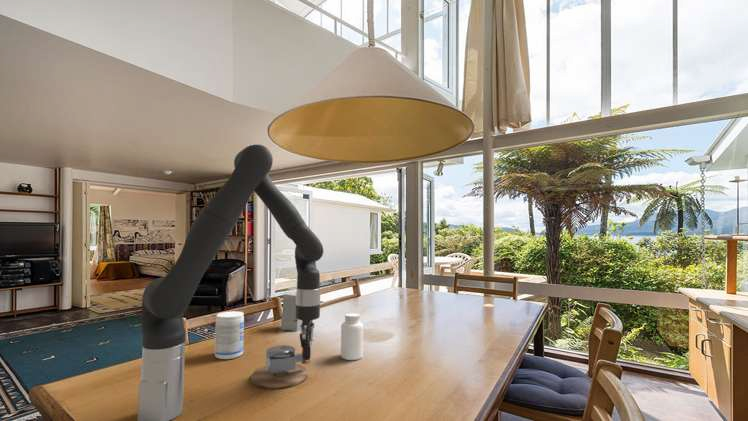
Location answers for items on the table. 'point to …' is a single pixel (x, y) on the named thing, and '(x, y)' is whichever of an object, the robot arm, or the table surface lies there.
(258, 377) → the post base
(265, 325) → the table surface
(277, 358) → the coupling
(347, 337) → the pill bottle
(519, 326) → the table surface
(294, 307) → the skincare box
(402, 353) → the table surface
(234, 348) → the supplement tub
